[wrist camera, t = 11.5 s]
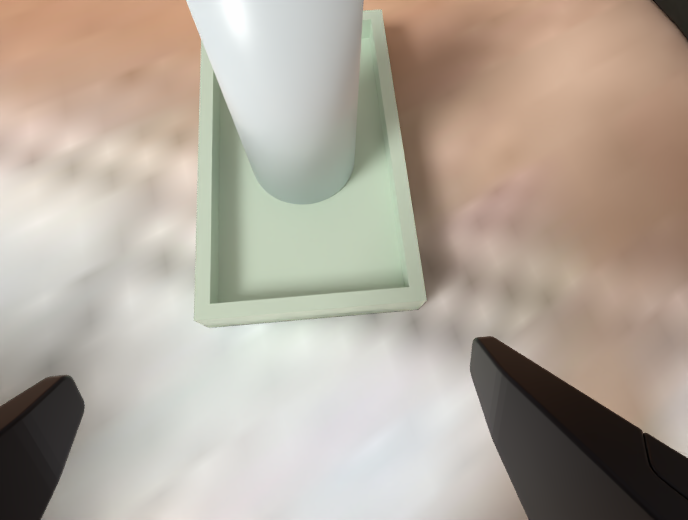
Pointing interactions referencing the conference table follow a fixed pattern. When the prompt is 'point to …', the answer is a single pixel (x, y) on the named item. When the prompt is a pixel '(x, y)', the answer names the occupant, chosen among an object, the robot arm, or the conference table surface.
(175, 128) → the conference table surface
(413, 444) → the conference table surface
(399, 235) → the tray
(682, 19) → the network switch
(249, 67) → the white rounded capsule
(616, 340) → the conference table surface
